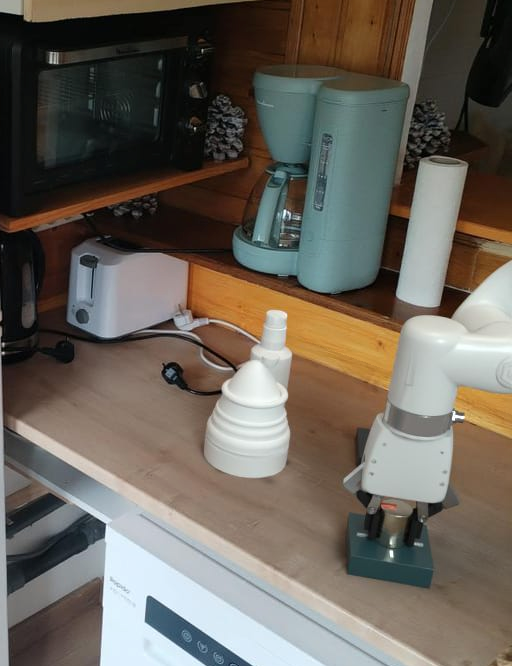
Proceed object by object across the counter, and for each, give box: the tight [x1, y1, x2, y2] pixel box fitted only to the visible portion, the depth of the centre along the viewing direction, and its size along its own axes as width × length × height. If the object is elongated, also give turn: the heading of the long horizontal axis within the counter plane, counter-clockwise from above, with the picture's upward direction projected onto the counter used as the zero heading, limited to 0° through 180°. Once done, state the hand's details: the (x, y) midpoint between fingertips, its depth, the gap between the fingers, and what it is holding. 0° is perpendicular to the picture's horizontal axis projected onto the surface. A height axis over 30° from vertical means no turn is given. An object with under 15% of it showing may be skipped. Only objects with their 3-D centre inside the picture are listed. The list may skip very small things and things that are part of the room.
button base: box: [354, 427, 371, 468], centre depth 142 cm, size 12×10×4 cm
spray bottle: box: [249, 309, 293, 408], centre depth 154 cm, size 7×7×18 cm
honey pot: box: [203, 352, 292, 479], centre depth 139 cm, size 13×13×18 cm
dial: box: [375, 498, 414, 548], centre depth 118 cm, size 4×4×5 cm
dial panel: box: [345, 512, 435, 589], centre depth 119 cm, size 10×10×3 cm
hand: (390, 536), depth 119 cm, fingers closed on dial, 4 cm apart
